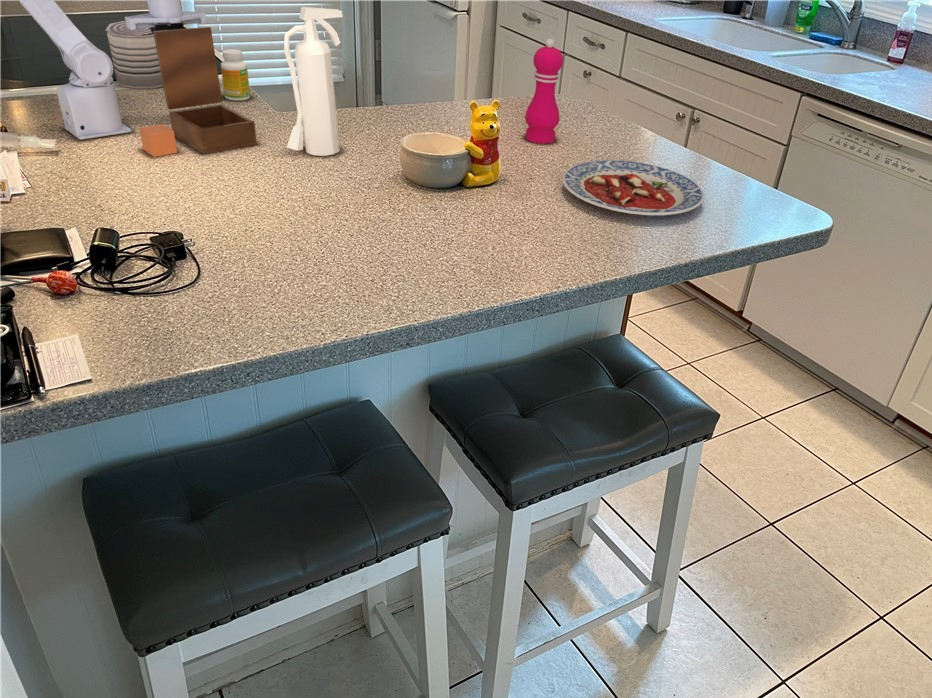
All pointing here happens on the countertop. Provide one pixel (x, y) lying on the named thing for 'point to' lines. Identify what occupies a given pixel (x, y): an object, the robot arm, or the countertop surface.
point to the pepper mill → (544, 95)
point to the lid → (188, 67)
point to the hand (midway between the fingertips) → (174, 66)
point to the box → (213, 128)
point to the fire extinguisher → (314, 84)
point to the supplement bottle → (235, 76)
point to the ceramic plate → (633, 187)
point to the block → (158, 140)
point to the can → (134, 56)
